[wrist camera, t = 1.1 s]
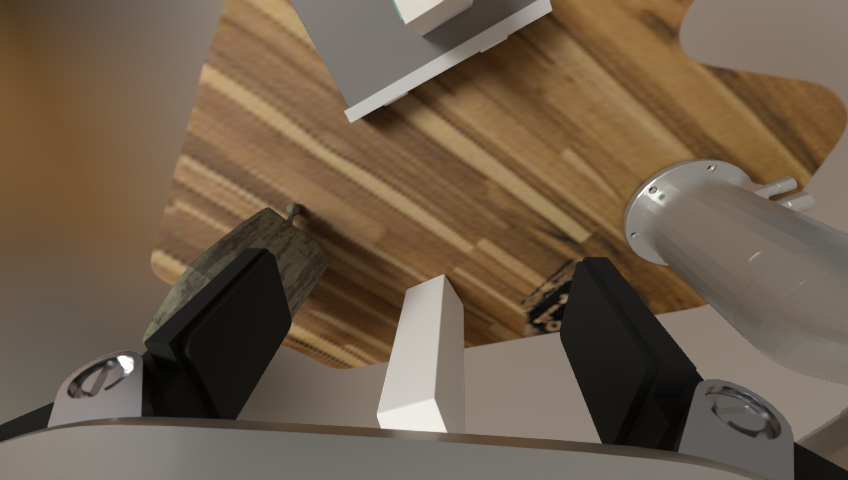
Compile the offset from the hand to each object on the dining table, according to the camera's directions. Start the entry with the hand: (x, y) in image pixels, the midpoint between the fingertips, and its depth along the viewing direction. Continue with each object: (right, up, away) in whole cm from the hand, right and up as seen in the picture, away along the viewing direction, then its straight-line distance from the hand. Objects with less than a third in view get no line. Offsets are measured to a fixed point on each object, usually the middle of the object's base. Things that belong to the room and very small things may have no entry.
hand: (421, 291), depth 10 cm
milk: (+2, -6, +36) cm, 36 cm away
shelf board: (-1, +23, +20) cm, 31 cm away
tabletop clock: (-18, +1, +34) cm, 38 cm away
